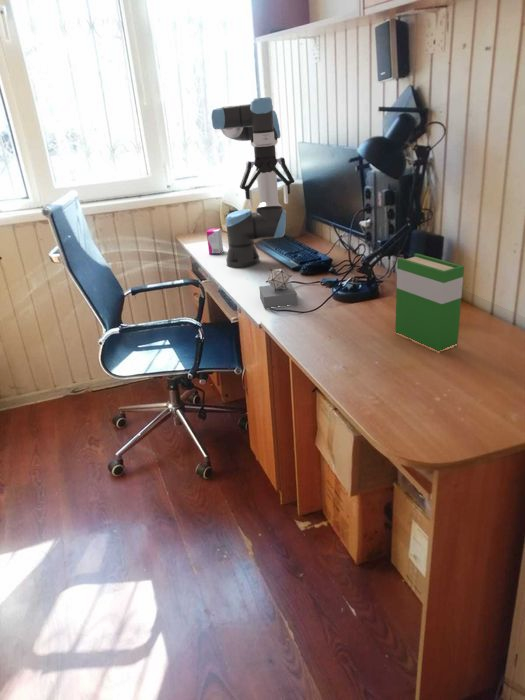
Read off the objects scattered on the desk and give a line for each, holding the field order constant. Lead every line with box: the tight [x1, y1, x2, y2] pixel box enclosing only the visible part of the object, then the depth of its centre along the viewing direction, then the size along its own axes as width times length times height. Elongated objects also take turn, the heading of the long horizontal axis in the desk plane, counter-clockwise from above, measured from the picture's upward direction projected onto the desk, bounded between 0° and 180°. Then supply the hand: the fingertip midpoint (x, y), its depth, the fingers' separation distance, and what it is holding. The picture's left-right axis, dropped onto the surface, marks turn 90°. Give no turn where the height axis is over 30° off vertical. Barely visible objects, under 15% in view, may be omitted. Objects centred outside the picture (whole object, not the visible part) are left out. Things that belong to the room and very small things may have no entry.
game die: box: [265, 266, 292, 291], centre depth 198 cm, size 9×8×10 cm
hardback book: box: [394, 253, 465, 351], centre depth 157 cm, size 18×7×24 cm, turn 30°
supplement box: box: [206, 228, 224, 255], centre depth 266 cm, size 6×6×12 cm
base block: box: [258, 282, 298, 309], centre depth 200 cm, size 12×12×5 cm
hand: (268, 205), depth 203 cm, fingers open, 13 cm apart
